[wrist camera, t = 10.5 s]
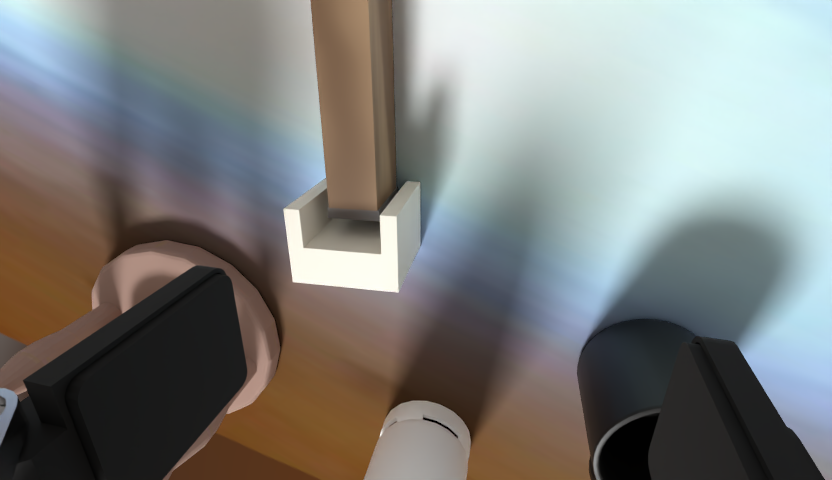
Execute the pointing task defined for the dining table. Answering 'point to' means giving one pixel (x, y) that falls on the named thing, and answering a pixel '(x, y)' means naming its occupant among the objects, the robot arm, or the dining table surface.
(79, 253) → the dining table surface
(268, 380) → the hourglass
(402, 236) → the white u-channel cradle
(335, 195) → the rail
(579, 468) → the dining table surface
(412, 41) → the dining table surface
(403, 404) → the bottle
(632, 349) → the mug
